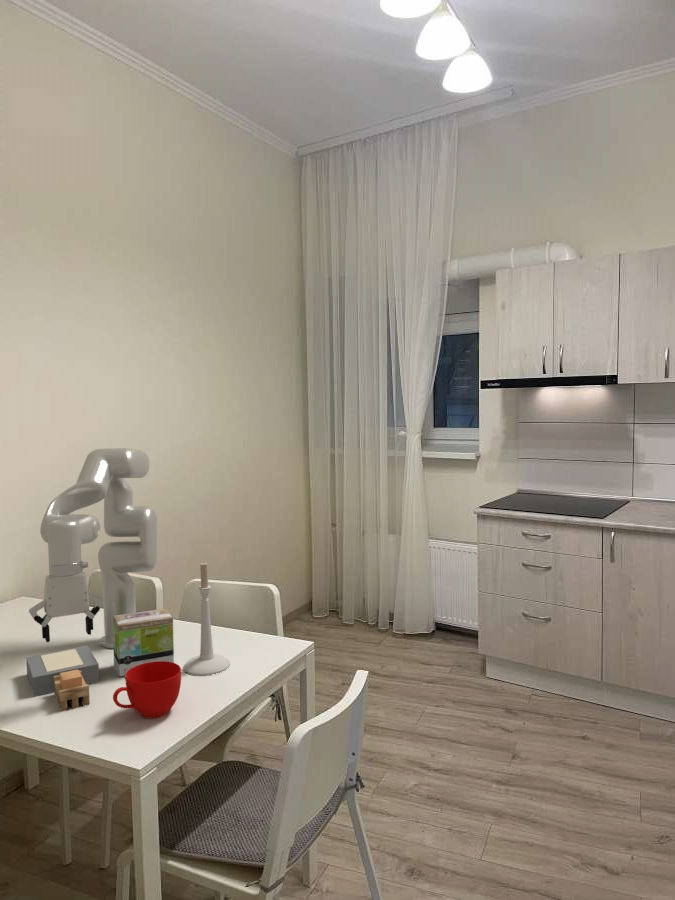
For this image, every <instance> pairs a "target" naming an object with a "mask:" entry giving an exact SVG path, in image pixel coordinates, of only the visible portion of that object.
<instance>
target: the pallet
mask: <svg viewBox="0 0 675 900" xmlns="http://www.w3.org/2000/svg"><path fill="white" fill-rule="evenodd" d="M79 672H80V674H81V676H82V672H81V671H79ZM53 693H54V696H55V698H56V701H57V705H58V707H59V710H60V711H61V712H65V711H68V701H69V703H70V707H71V708H72V709H78V708H79V707H80V705H79V700H80V701H81V703H82V705H83V706H84V707H85V705H86V706H90V705H89V704H91V703H90V702H91V701H90V684H87V685H86V683H85V681H84V679H83V677H82V686H78V687H73V688H69V689H64V690H63V688H62V686H61V684H60V675H57V676H54V692H53Z"/></svg>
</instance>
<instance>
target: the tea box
mask: <svg viewBox="0 0 675 900" xmlns="http://www.w3.org/2000/svg"><path fill="white" fill-rule="evenodd" d="M113 643H114V648H113V666H114V667H115V669H116V672H117V674H118V675H119V677H120V678H121V677H125V674H126V672H127V671H128V670H130V669H131V668H133V667H135V666H138V665H140V664H144V663H148V662H157V661H166V662H173V663H175V662H174V661H175V654H174V653H175V652H174V651H175V650H174V649H175V648H174V644H175V643H174V618H173V616H172V614H171V613H170V612H169V611H168V610H167V609H166V608H158V609H151V610H144V611H138V612H137V611H136V613H129V614H122V615H115V616H113Z"/></svg>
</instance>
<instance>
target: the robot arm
mask: <svg viewBox="0 0 675 900" xmlns="http://www.w3.org/2000/svg"><path fill="white" fill-rule="evenodd" d="M149 470H150V459H149V455H148V454H147V453H146V452H145V451H143V450H141V449H135V448H133V449H132V448H128V447H127V448H121V447H120V448H97V449H94V450H91V451H90V452H89V453H88V454H87V456H86V458H85V461H84V462H83V465H82V468H81V471H80V472H79V475H78V478H77V480H76V483H75V484H73V485H72V486H70V487H68V488H67V489H65V490H64V491H62V492H61V493H60V494H58V495H57V496H55V498H53V500H52V499H51V501H50V503H48V504H49V505H48V506H47V508H46V510H45V513H44V515H43V518H42V520H41V523H40V529H39V530H40V531H39V532H40V537H41V538H42V540H43V541H44V542H45V543H47V550H48V575H46V576H45V581H44V588H43V589H44V590H43V593H44V594H43V600H41V601H40V602H38V603H36V604H35V605H34V606H32V607H30V608H29V609H28V613H29V614H30V616H31V617H32V618H33V620H34V621H35V622H36V623H37V624H39V625H40V626H41V634H42V636H41V637H42V639H43V640H45V642H46V643H49V642H50V641H51V639H50V638H51V637H50V636H51V634H50V625H49V623H50V621H51V620H52V619H53V618H60V617H67V616H72V615H73V616H74V615H78V614H83V613H84V614H85V618H84V619H85V632H86V635H88V636H90V635H92V631H93V630H94V618H95V616H96V615H97V614H98V613H99V611H100V610H101V607H102V606H103V624H104V636H101V638H100V639H99V645H100V646H101V647H103V648H106V649H114V643H113V616H115V615H122V614H129V613H136V612H137V610H136V609H137V608H136V586H135V582H134V579H133V578H132V577H131V575H130V574H129V573H147V572H152V571H153V570H154V569H155V568H156V566H157V562H158V561H157V560H158V520H157V519H158V518H157V514H156V512H155V510H154V509H153V508H152V507H150V506H145V505H144V506H143V505H141V506H140V505H137V506H134V505H133V489H132V487H131V485H130V484H129V483H128V481H127V480H126V479H142V478H144V477H146V476H147V475H148V473H149ZM102 500H103V530H104V532H105V534H106V536H109V537H111V538H139V539H140V540H135V541H132V540H131V541H129V540H127V541H126V540H125V541H120V540H119V541H111V542H106V543H104V544H103V545H102V546H100V548H99V549H98V552H97V560H98V561H97V562H98V566H99V570H100V575H101V582H102V583H101V584H102V585H101V586H102V597H100V596H97V595H94V594H92V593H89V587H88V581H87V577H86V573H85V572H84V571H83V570H84V569H85V568H88V567H89V563H88V561H86V562H84V561H83V560H82V545H84V544H90V543H92V542H94V541H95V540H96V539H97V538H98V537H99V535H100V532H101V523H100V521H99V519H98V518H97V517H96V516H95V515H93V514H74V513H73V512H75V511H78V510H81V509H84V508H87V507H90V506H92V505H95V504H97V503H99V502H101V501H102ZM71 513H72V514H71ZM90 601H92V602H95V605H94V606H93V607H92V608H91V609H90ZM42 609H44V613H45V614H44V615H43V617H41V616H40V615H39V614H38V612H39V611H40V610H42Z"/></svg>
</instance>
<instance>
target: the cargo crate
mask: <svg viewBox="0 0 675 900" xmlns="http://www.w3.org/2000/svg"><path fill="white" fill-rule="evenodd" d="M60 684H61V686H62V688H63V690H64V689H69V688H73V687H78V686H82V676H81V674H80V672H79V670H78V669H77V670H72V671H68V672H63V673H60Z"/></svg>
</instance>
